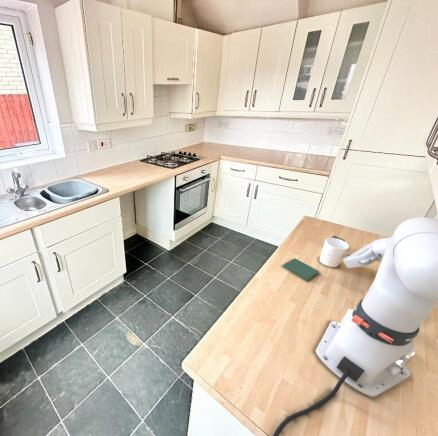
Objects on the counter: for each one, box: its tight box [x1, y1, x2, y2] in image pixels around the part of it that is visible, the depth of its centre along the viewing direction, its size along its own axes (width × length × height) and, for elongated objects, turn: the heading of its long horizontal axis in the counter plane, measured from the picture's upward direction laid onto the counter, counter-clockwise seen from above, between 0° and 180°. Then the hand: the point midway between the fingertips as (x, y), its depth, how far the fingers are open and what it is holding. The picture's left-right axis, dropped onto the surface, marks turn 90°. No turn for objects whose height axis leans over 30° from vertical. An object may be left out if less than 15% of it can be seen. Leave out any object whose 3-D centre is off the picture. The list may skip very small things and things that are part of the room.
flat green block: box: [282, 258, 320, 282], centre depth 99 cm, size 8×10×1 cm
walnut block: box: [330, 235, 346, 242], centre depth 111 cm, size 4×4×4 cm
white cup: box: [319, 237, 350, 268], centre depth 101 cm, size 8×8×10 cm
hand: (344, 258), depth 98 cm, fingers closed, pressing on white cup
